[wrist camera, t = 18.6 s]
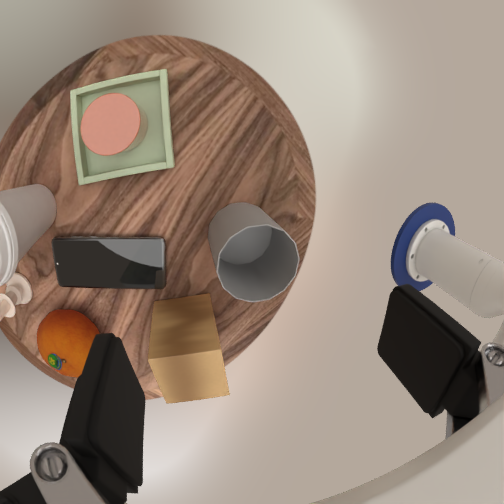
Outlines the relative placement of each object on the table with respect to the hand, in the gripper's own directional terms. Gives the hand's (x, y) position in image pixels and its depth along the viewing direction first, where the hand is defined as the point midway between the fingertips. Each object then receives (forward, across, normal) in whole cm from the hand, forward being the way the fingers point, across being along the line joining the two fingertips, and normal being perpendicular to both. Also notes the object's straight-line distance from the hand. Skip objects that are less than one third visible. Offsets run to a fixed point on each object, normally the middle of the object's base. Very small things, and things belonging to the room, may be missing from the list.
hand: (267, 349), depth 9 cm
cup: (+28, -3, +6) cm, 29 cm away
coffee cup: (+28, +24, -2) cm, 36 cm away
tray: (+28, +10, -10) cm, 31 cm away
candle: (+27, +32, +9) cm, 43 cm away
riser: (+28, +5, +18) cm, 33 cm away
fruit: (+28, +23, +17) cm, 40 cm away
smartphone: (+28, +14, +7) cm, 32 cm away
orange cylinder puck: (+27, +10, -10) cm, 30 cm away
